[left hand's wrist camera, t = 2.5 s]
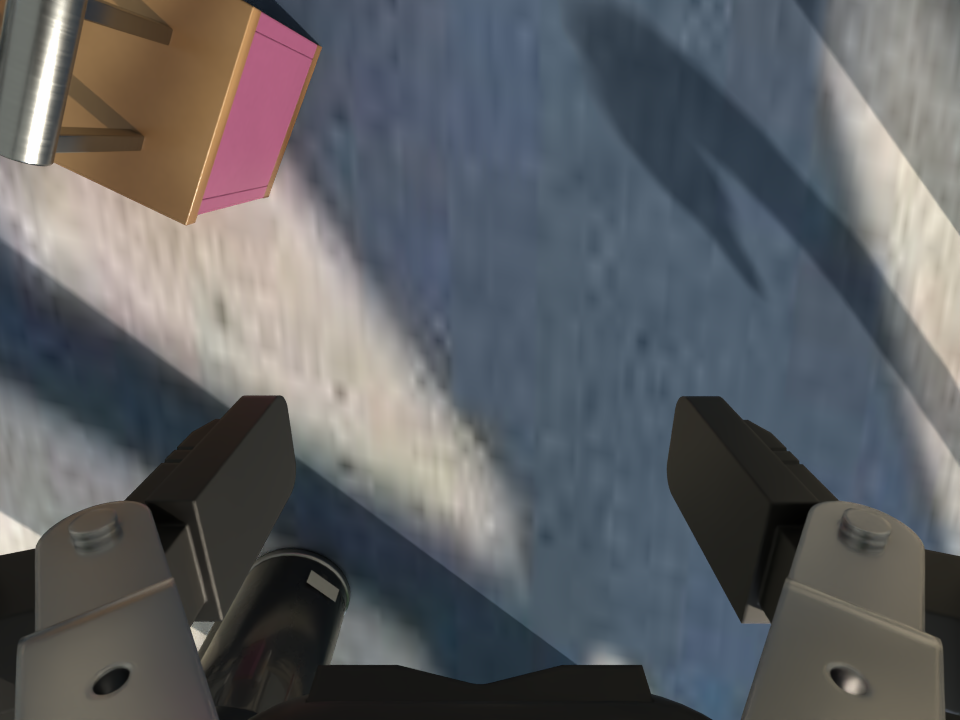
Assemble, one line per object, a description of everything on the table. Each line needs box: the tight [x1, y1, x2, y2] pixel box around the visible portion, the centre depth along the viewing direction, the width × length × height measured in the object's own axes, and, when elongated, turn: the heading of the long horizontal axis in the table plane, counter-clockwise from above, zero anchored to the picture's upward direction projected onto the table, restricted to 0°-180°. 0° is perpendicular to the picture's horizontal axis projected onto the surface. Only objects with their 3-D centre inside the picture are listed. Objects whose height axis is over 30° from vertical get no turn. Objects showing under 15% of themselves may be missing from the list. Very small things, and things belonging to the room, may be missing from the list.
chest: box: [198, 12, 322, 215], centre depth 28 cm, size 16×10×11 cm, turn 63°
